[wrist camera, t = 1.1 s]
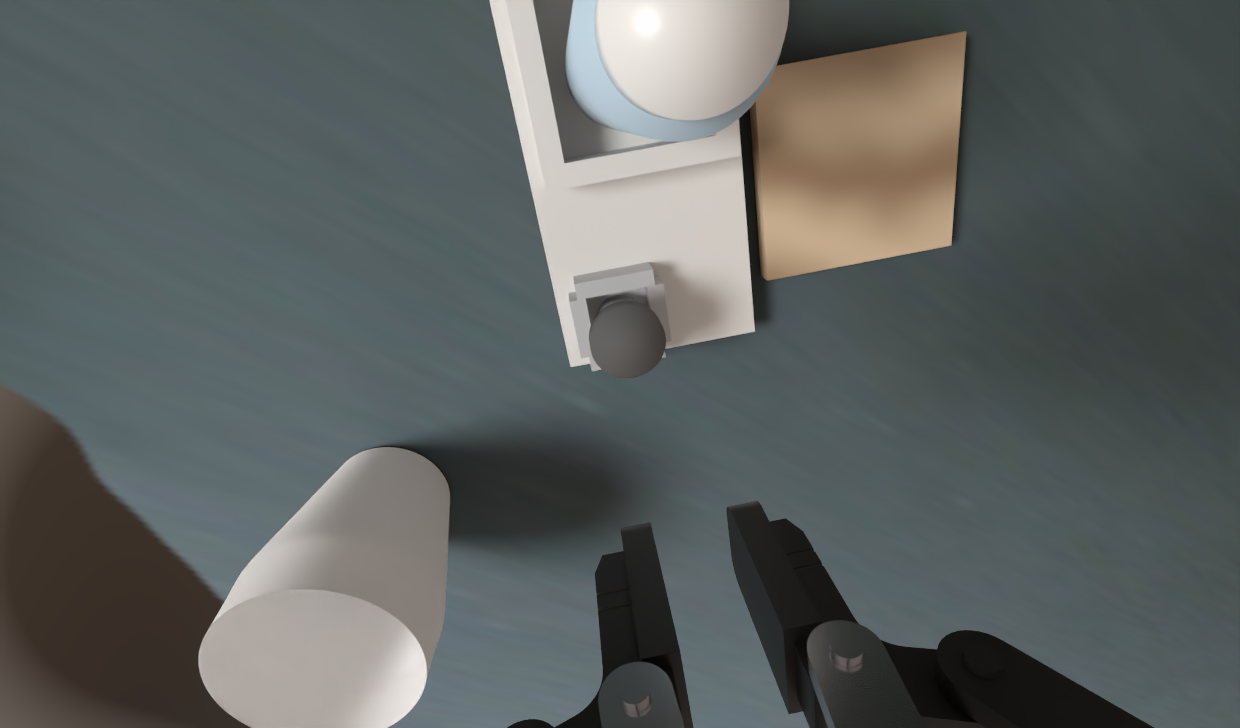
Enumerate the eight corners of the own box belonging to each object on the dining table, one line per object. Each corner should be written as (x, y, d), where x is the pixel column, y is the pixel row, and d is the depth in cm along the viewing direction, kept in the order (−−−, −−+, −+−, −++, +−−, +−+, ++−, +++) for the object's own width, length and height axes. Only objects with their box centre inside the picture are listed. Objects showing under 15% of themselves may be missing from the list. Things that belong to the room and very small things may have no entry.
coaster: (747, 71, 27) (753, 69, 26) (952, 34, 27) (966, 31, 26) (760, 275, 31) (767, 280, 30) (939, 241, 31) (951, 245, 31)
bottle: (553, 12, 24) (550, -114, 11) (670, -9, 24) (808, -158, 11) (576, 138, 26) (598, 163, 13) (684, 119, 26) (815, 123, 13)
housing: (486, -26, 25) (473, -50, 21) (715, -66, 25) (742, -97, 21) (570, 356, 32) (572, 387, 28) (746, 322, 32) (770, 348, 28)
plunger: (580, 289, 28) (583, 314, 25) (647, 276, 28) (660, 299, 25) (592, 352, 30) (597, 384, 26) (657, 339, 30) (670, 370, 26)
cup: (500, 477, 35) (474, 645, 24) (420, 575, 37) (362, 769, 26) (361, 398, 32) (258, 548, 21) (284, 510, 34) (154, 698, 23)
